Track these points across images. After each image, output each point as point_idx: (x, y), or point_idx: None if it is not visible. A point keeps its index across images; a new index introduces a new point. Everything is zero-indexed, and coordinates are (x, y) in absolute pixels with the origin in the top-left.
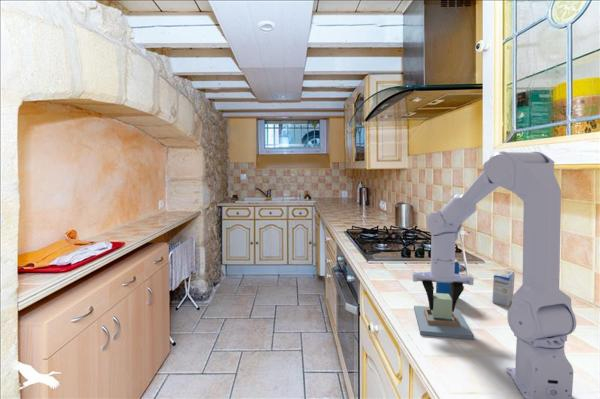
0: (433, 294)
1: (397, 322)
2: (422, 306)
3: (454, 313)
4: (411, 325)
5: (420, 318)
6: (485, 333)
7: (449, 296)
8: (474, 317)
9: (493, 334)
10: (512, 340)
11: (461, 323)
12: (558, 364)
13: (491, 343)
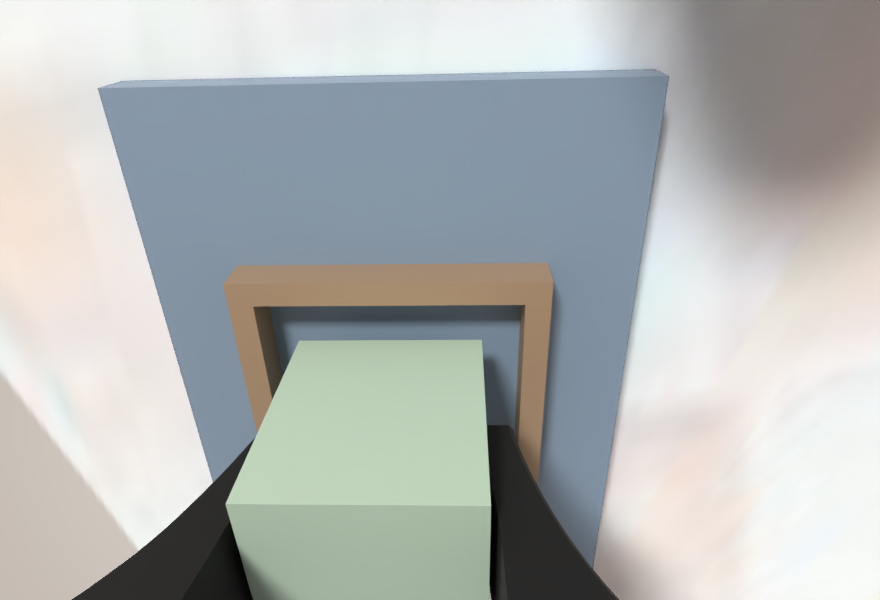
0: (259, 553)
1: (57, 422)
2: (205, 99)
3: (541, 348)
4: (172, 448)
5: (219, 410)
6: (712, 468)
7: (476, 586)
8: (782, 180)
9: (766, 472)
10: (853, 523)
11: (563, 436)
12: None
13: (681, 571)
